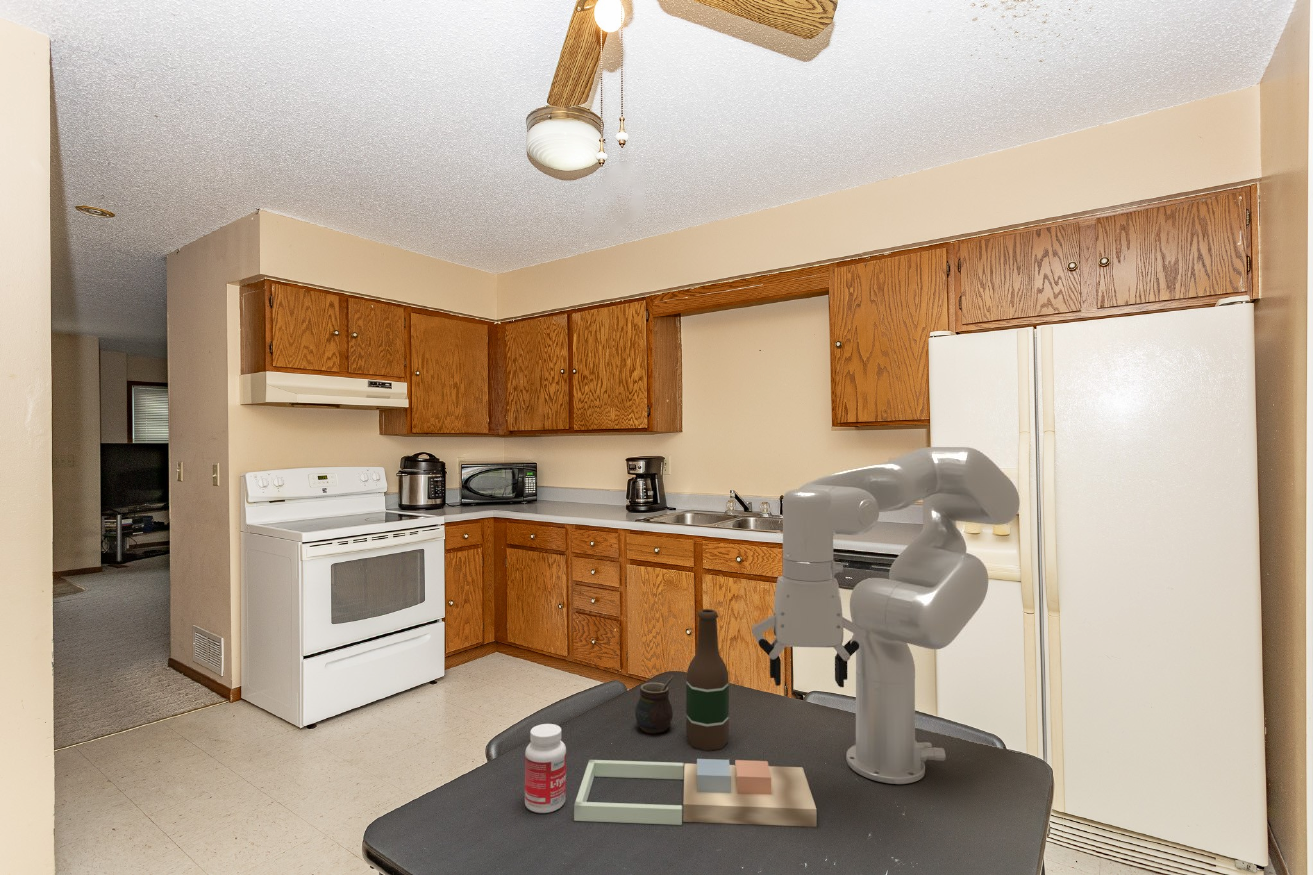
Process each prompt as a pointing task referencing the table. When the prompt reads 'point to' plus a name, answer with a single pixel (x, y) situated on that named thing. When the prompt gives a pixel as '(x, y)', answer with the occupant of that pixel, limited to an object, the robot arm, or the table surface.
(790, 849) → the table surface
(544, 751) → the pill bottle
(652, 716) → the mate gourd
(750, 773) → the terracotta tile
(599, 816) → the u-shaped frame
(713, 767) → the slate tile
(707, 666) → the beer bottle
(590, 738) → the table surface
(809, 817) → the wooden cutting board
